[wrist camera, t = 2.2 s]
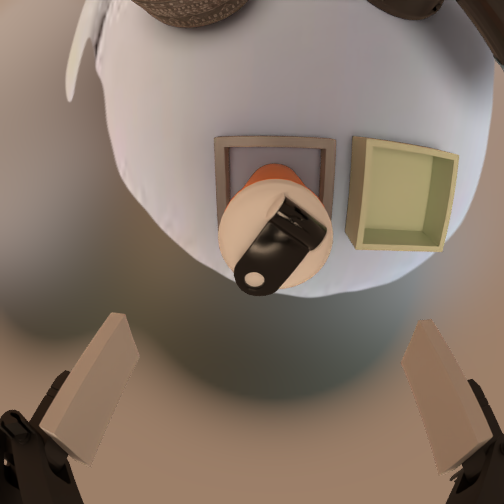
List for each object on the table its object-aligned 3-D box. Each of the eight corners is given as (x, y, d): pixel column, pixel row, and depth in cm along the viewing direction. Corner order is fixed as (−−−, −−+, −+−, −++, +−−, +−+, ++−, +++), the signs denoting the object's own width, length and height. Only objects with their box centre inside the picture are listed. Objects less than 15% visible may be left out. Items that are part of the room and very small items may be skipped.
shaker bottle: (230, 202, 38) (192, 278, 20) (260, 144, 34) (245, 166, 16) (287, 231, 39) (297, 325, 21) (320, 176, 36) (365, 232, 18)
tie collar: (219, 136, 34) (212, 138, 30) (330, 138, 33) (337, 140, 29) (224, 252, 42) (219, 267, 38) (322, 255, 41) (327, 269, 37)
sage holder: (352, 135, 33) (366, 138, 27) (436, 149, 32) (459, 155, 26) (344, 231, 39) (355, 249, 33) (424, 235, 38) (442, 251, 32)
